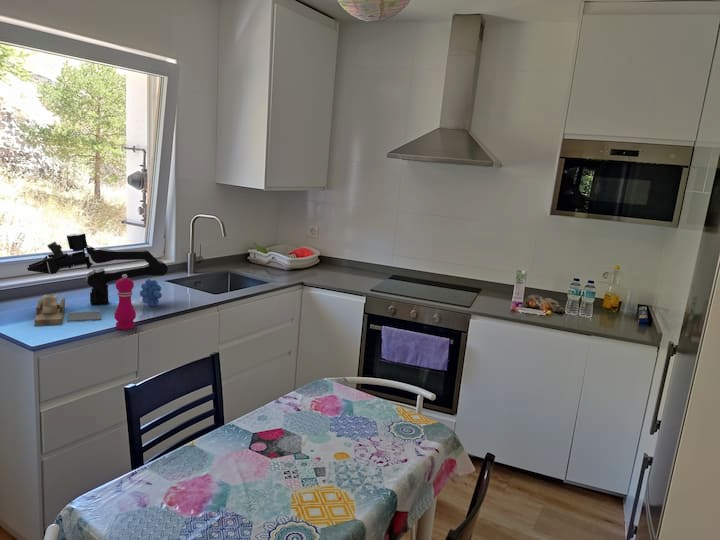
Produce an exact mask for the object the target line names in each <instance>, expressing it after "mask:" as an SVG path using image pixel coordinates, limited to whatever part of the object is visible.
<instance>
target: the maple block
mask: <svg viewBox="0 0 720 540" xmlns="http://www.w3.org/2000/svg"><path fill="white" fill-rule="evenodd" d="M42 298H43V313H57V311H58V303H59V302H58V294H43V295H42Z"/></svg>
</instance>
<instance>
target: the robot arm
mask: <svg viewBox="0 0 720 540" xmlns="http://www.w3.org/2000/svg"><path fill="white" fill-rule="evenodd" d="M66 240H67V243H68V248H69V250H72V252H69V253H68V252H64V251H63V250H62V248H63V247H62V246H61V244H58V243H57V241H53V242H51V243H49V244H48V245H47V248H48V249H49V250H50V251H51V253H49V254H47V255H46V256H44V258H43V259H41V260H39V261H36V262H34V263H32V264H28V267H27V271H28V272H34V273H43V274H48V275H49V274H50V275H54V274H57V273H58V271H60V270H63V269H72V268H75V267H79V266H80V267H81V266H85V265H86V269H87V270H90V268H91V267H92V266H93V265H94V263H96V264H103V263H108V262H111V261H128V260H129V261H135V260H141V261H142V260H144V261H145V262H146V263H147V264H145V265H142V266H136V267H129V268H124V269H117V270H111V271H108V270H105V268H104V267H102V268H99V269H94V268H93V269H92V271H89V272H88V273H87V275H86V276H85V277H86V283H87V285H88V286H90V287H91V291H90V293H89V302H90V304H91V305H92V306H95V305H110V304H109V303H110V300H109V285H108V283H111V282H114V281H118V280H119V279H121V278H122V275H123V274H126V275H127V278H129V279H131V278H137V277H143V276H153V277H155V276H156V277H157V276H165V275H166V274H167V272H168V268H169V267H168V266H167V264H166V263H165V262H164V261H162V260H158V259H157V258H156V257H155V256H154V255H153V254H151V252H150V251H149V250H148V249H141V250H140V249H139V250H137V249H135V250H131V249H129V250H127V249H126V250H123V249H121V250H114V249H109V248H101V247H93V246H90V245H88V243H87V236H86V233H85V232H84V233H71V234H67V235H66ZM85 251H86V252H85ZM86 253H87V254H88V255H87V254H86ZM90 259H91V260H92V262H91V261H90Z"/></svg>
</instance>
